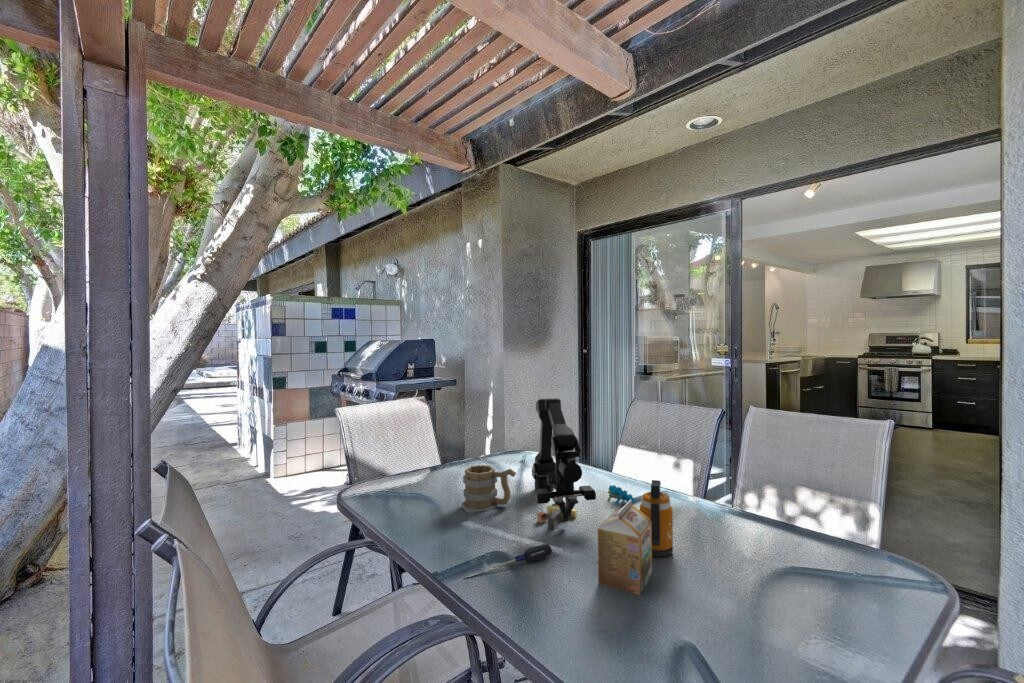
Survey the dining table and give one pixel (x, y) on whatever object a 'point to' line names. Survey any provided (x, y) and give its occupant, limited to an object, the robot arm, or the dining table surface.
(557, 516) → the gold lugged knob
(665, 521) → the canister
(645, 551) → the milk carton
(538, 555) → the screwdriver
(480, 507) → the tankard
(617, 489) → the blue branched piece
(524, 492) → the dining table surface
